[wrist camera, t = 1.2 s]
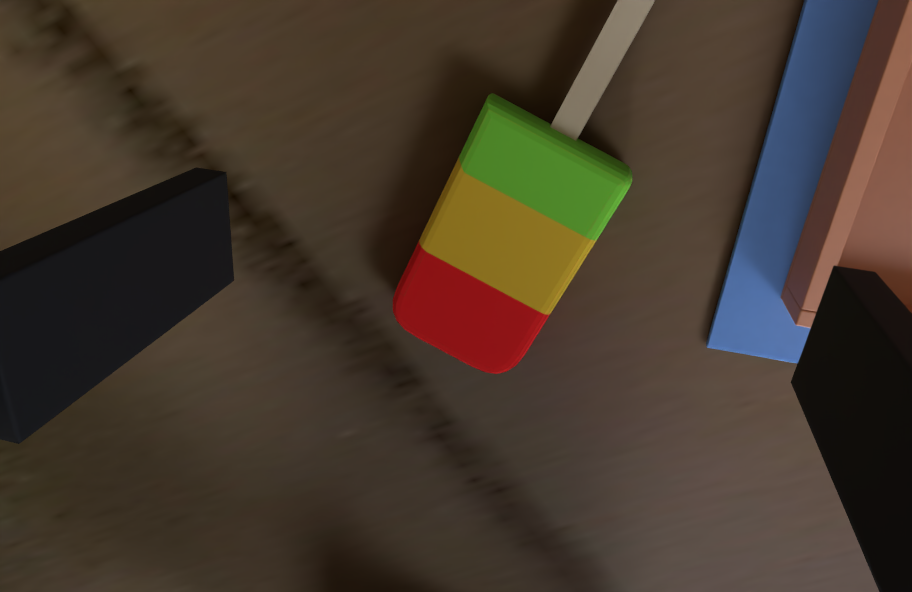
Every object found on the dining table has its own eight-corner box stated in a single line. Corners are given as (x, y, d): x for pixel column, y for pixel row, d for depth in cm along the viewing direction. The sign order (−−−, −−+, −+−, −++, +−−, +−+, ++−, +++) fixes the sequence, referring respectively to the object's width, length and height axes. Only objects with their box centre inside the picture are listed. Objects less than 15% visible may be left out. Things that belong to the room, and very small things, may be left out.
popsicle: (392, 302, 27) (377, 323, 25) (577, -85, 20) (575, -92, 18) (512, 365, 27) (505, 390, 25) (738, 1, 20) (750, 1, 18)
